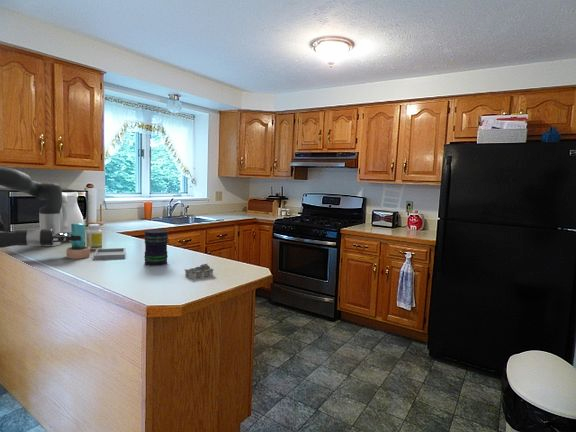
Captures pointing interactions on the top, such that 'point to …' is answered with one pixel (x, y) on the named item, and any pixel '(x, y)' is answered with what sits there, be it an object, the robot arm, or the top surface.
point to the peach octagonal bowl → (77, 253)
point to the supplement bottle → (94, 237)
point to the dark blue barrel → (156, 247)
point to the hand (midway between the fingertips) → (82, 236)
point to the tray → (109, 253)
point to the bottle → (78, 230)
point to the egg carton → (199, 271)
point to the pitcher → (69, 211)
